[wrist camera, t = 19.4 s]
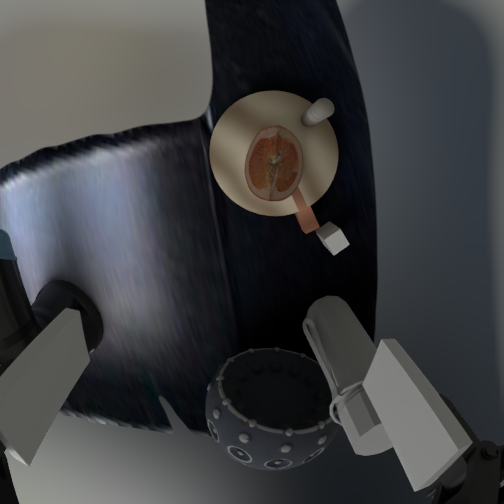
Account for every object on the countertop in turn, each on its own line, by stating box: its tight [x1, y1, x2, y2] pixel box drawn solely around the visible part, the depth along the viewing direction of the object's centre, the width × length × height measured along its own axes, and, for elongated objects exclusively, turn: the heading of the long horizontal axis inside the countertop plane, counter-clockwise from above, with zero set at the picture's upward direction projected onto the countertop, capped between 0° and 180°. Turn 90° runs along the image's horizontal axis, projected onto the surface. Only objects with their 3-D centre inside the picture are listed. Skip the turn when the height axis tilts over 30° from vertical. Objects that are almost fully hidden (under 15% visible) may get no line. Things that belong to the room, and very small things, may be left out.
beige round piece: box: [210, 91, 338, 234], centre depth 30 cm, size 16×19×10 cm
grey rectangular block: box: [315, 221, 349, 255], centre depth 37 cm, size 2×2×5 cm
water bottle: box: [303, 296, 393, 456], centre depth 31 cm, size 9×8×25 cm
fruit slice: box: [244, 125, 303, 201], centre depth 30 cm, size 8×7×5 cm
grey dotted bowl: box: [206, 347, 341, 470], centre depth 36 cm, size 11×20×20 cm, turn 81°
